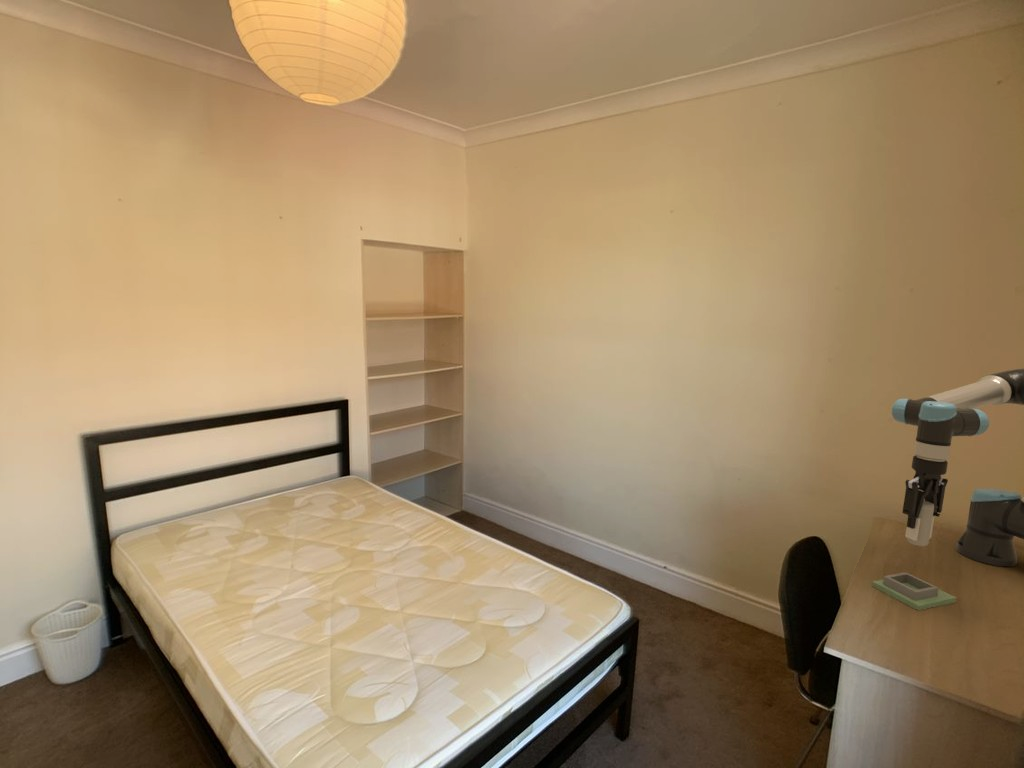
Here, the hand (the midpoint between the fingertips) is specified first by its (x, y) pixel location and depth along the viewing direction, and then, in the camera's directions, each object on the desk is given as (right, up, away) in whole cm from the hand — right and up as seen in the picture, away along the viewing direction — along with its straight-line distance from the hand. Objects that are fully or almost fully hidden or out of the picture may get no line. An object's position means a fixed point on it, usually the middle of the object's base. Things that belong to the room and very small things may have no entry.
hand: (918, 537), depth 145 cm
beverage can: (0, -2, 0) cm, 2 cm away
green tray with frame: (+1, -17, +3) cm, 18 cm away
